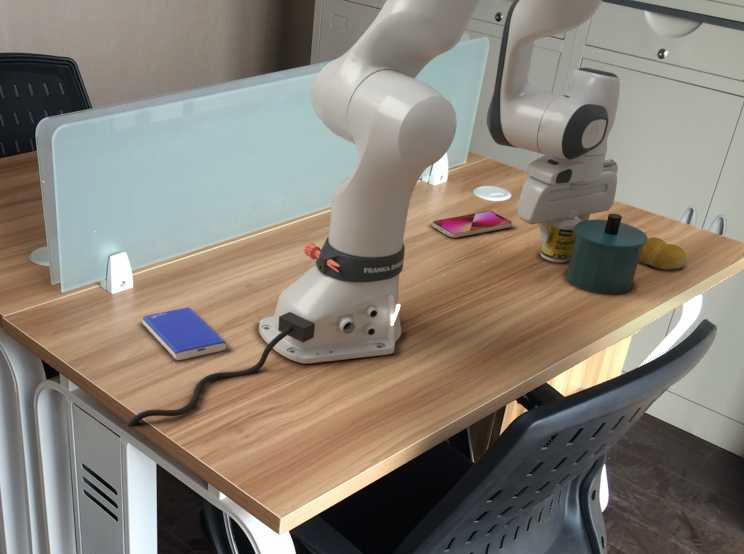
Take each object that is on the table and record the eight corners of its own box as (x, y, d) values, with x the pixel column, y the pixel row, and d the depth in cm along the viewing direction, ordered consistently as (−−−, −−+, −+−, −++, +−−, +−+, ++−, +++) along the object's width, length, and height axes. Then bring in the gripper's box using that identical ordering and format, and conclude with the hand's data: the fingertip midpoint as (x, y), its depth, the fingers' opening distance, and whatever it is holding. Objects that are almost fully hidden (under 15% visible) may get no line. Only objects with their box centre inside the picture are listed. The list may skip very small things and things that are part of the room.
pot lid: (609, 256, 157) (616, 233, 154) (558, 231, 165) (563, 208, 163) (661, 246, 162) (667, 223, 159) (608, 221, 170) (614, 199, 168)
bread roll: (670, 275, 171) (676, 254, 169) (625, 258, 177) (631, 238, 174) (692, 264, 176) (699, 243, 173) (648, 248, 181) (654, 228, 179)
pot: (598, 298, 162) (610, 251, 157) (553, 273, 170) (563, 228, 165) (644, 287, 166) (657, 242, 161) (598, 263, 174) (609, 219, 169)
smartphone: (430, 221, 186) (490, 210, 192) (429, 226, 187) (489, 214, 192) (453, 234, 181) (514, 223, 186) (452, 239, 181) (513, 227, 187)
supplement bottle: (551, 264, 173) (563, 213, 167) (534, 253, 177) (545, 202, 172) (576, 261, 174) (588, 210, 169) (558, 250, 179) (570, 200, 173)
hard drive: (142, 316, 146) (175, 351, 137) (190, 306, 149) (226, 340, 140) (142, 325, 147) (176, 361, 138) (190, 315, 150) (226, 350, 141)
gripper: (606, 153, 173) (588, 225, 180) (520, 165, 164) (505, 240, 172) (632, 163, 168) (613, 237, 176) (545, 177, 160) (528, 253, 167)
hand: (559, 239), depth 174 cm, fingers closed on supplement bottle, 5 cm apart
